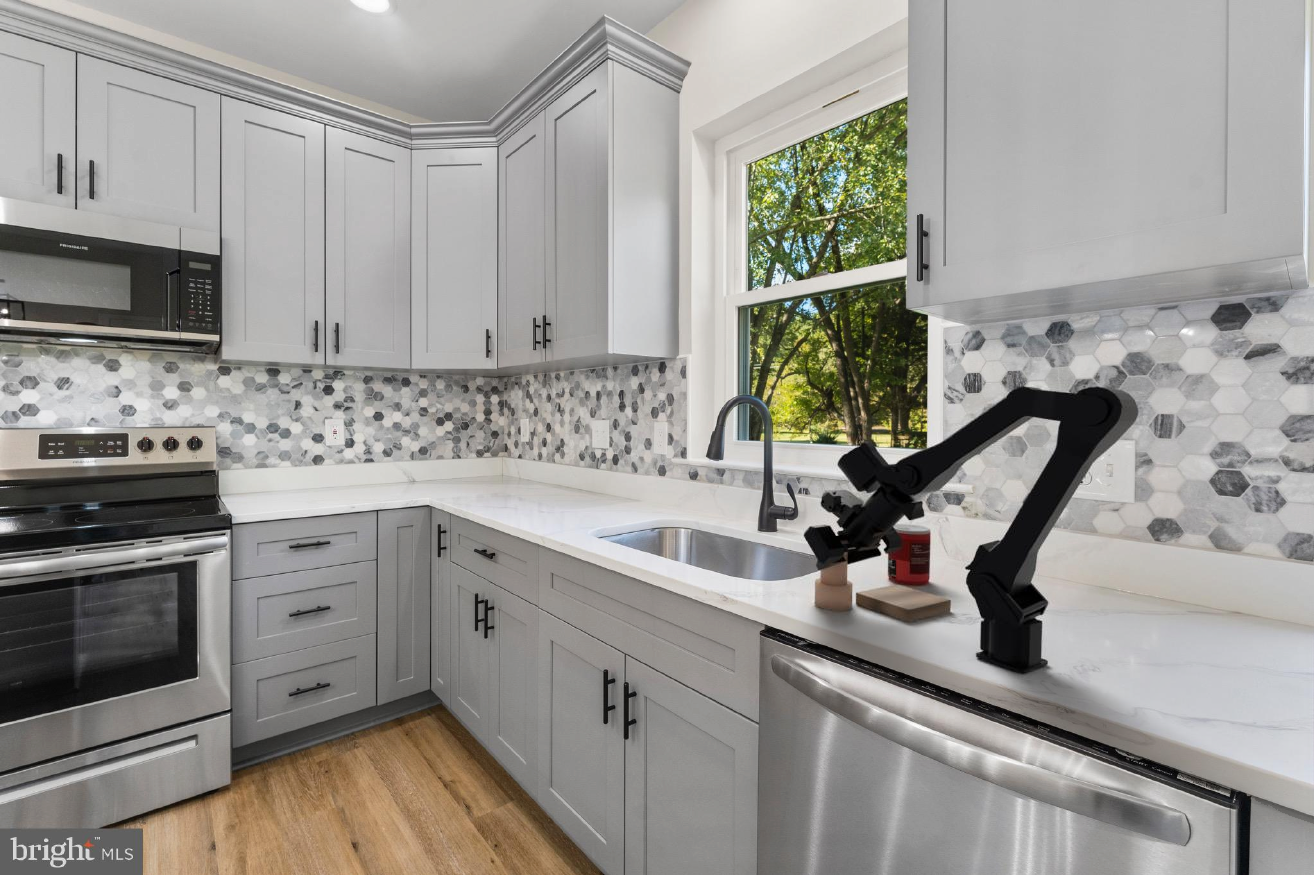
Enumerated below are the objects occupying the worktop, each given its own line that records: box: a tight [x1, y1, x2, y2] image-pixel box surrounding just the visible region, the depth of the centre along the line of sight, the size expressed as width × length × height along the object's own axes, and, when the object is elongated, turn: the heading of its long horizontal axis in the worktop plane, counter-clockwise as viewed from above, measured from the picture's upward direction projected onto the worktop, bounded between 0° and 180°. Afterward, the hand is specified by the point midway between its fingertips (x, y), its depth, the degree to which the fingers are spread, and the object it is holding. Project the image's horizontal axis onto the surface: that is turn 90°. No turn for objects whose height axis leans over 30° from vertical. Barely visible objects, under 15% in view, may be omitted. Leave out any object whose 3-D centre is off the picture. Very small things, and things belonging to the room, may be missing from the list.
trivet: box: [855, 583, 952, 623], centre depth 106 cm, size 11×11×2 cm
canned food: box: [887, 523, 932, 587], centre depth 124 cm, size 8×8×11 cm
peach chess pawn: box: [814, 552, 853, 612], centre depth 107 cm, size 6×6×11 cm
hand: (828, 566), depth 109 cm, fingers closed on peach chess pawn, 5 cm apart
